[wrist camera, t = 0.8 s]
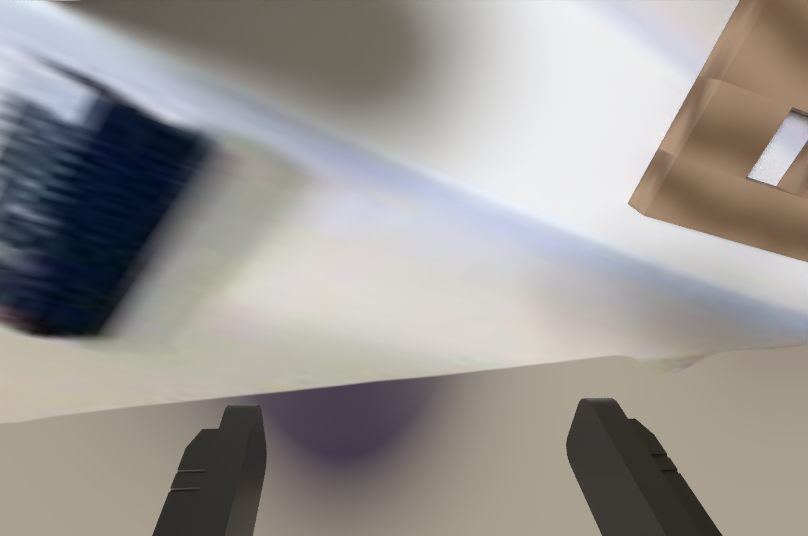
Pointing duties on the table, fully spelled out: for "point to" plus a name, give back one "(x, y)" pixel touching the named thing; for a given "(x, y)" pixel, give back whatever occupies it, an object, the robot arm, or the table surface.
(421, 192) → the table surface
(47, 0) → the cylinder vase
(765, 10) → the hole plate
